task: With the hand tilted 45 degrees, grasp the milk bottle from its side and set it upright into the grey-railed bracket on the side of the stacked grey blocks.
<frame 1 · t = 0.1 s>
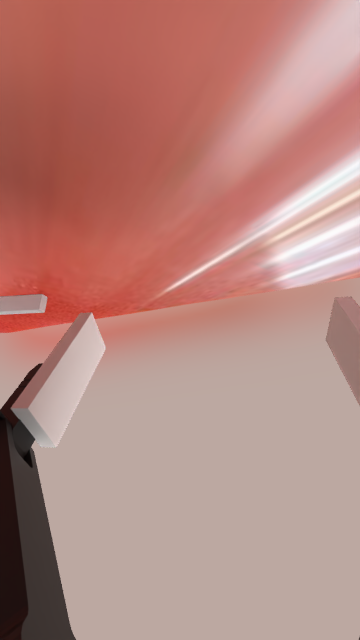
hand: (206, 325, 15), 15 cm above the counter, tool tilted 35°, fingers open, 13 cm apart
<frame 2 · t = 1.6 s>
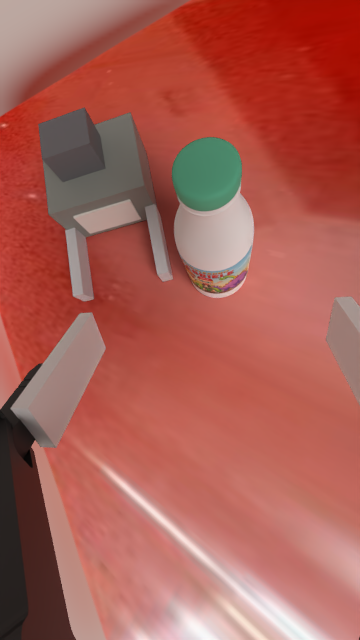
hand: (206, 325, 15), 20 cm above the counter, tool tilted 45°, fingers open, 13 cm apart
stacked grey blocks: (112, 196, 42), on the counter
milk bottle: (218, 272, 37), on the counter
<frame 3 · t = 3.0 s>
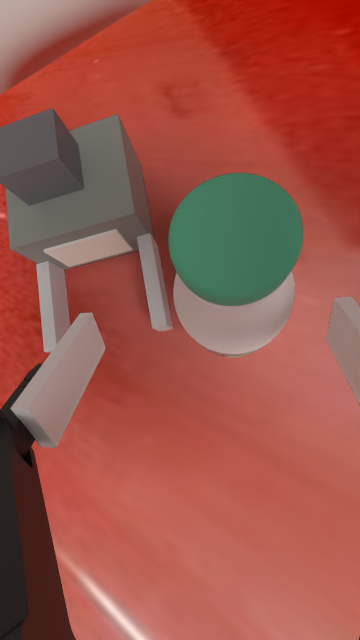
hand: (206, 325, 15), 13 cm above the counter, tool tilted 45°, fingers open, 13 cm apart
stacked grey blocks: (98, 218, 33), on the counter
milk bottle: (231, 321, 28), on the counter
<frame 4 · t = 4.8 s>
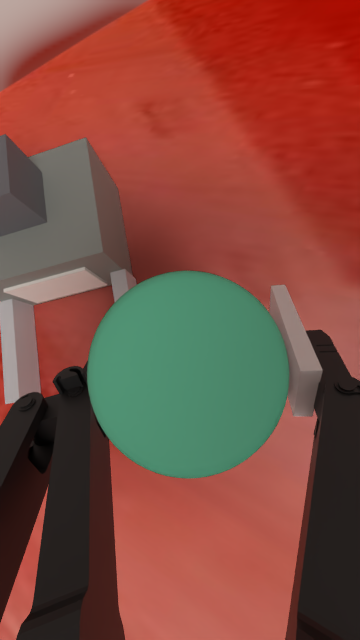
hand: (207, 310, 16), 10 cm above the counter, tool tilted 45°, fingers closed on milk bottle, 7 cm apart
stacked grey blocks: (70, 247, 30), on the counter
milk bottle: (216, 367, 25), on the counter, touching gripper
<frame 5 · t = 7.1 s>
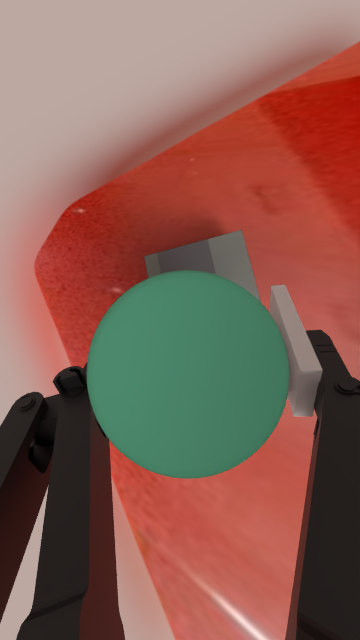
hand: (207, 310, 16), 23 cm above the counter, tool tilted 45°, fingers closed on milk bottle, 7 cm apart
stacked grey blocks: (205, 296, 41), on the counter
milk bottle: (216, 367, 25), point 14 cm above the counter, touching gripper
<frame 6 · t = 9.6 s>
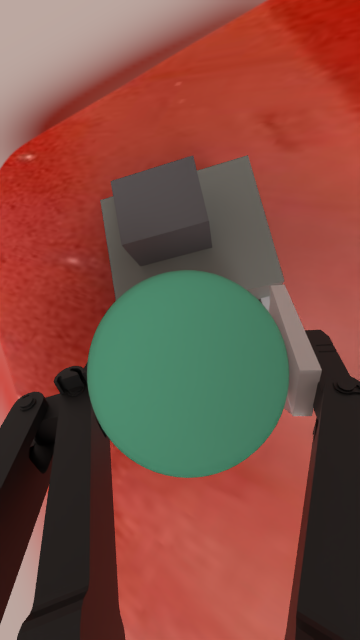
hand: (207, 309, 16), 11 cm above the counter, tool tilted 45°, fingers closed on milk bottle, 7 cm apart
stacked grey blocks: (194, 267, 29), on the counter
milk bottle: (216, 366, 25), point 1 cm above the counter, touching gripper
when the fingers open (11 cm above the counter, at t = 9.7 s): milk bottle drops 1 cm, on the counter.
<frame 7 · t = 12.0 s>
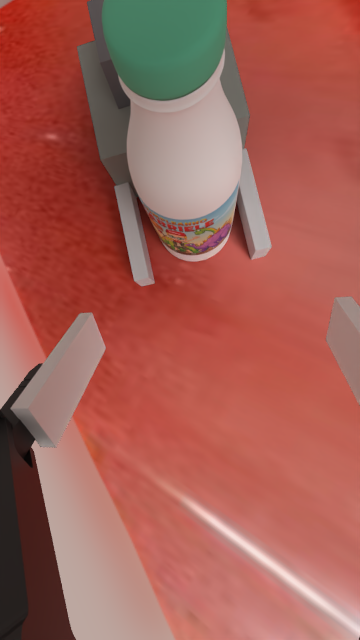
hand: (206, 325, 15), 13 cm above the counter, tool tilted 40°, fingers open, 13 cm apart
stacked grey blocks: (171, 138, 30), on the counter
milk bottle: (194, 228, 29), on the counter
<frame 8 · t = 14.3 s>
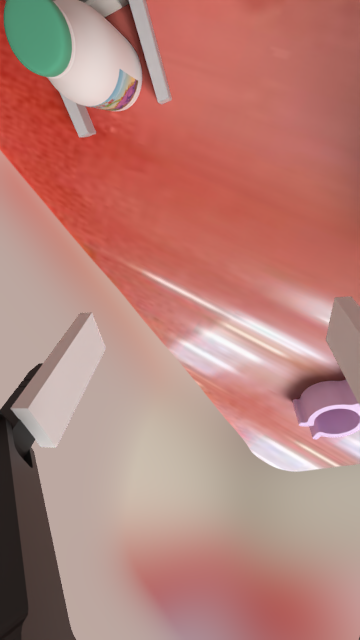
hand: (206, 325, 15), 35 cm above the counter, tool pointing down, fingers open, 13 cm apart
clip: (336, 392, 66), on the counter
milk bottle: (115, 75, 36), on the counter
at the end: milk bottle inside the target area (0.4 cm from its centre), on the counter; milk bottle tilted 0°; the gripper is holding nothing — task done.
